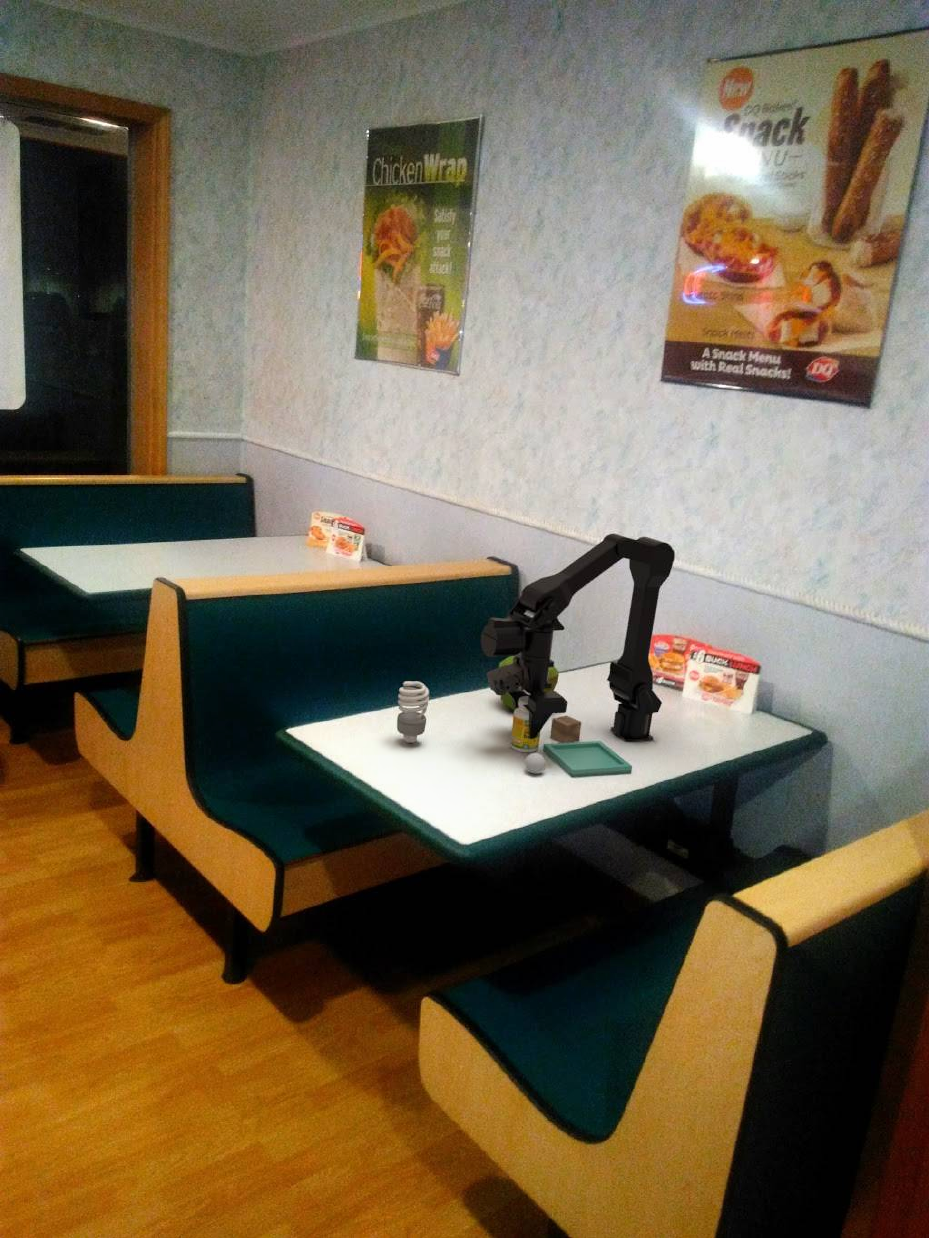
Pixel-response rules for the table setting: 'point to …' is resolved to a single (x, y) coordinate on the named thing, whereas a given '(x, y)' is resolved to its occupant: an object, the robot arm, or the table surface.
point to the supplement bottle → (522, 729)
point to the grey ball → (535, 763)
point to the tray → (587, 759)
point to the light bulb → (412, 710)
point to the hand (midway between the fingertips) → (525, 732)
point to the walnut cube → (565, 729)
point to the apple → (551, 678)
